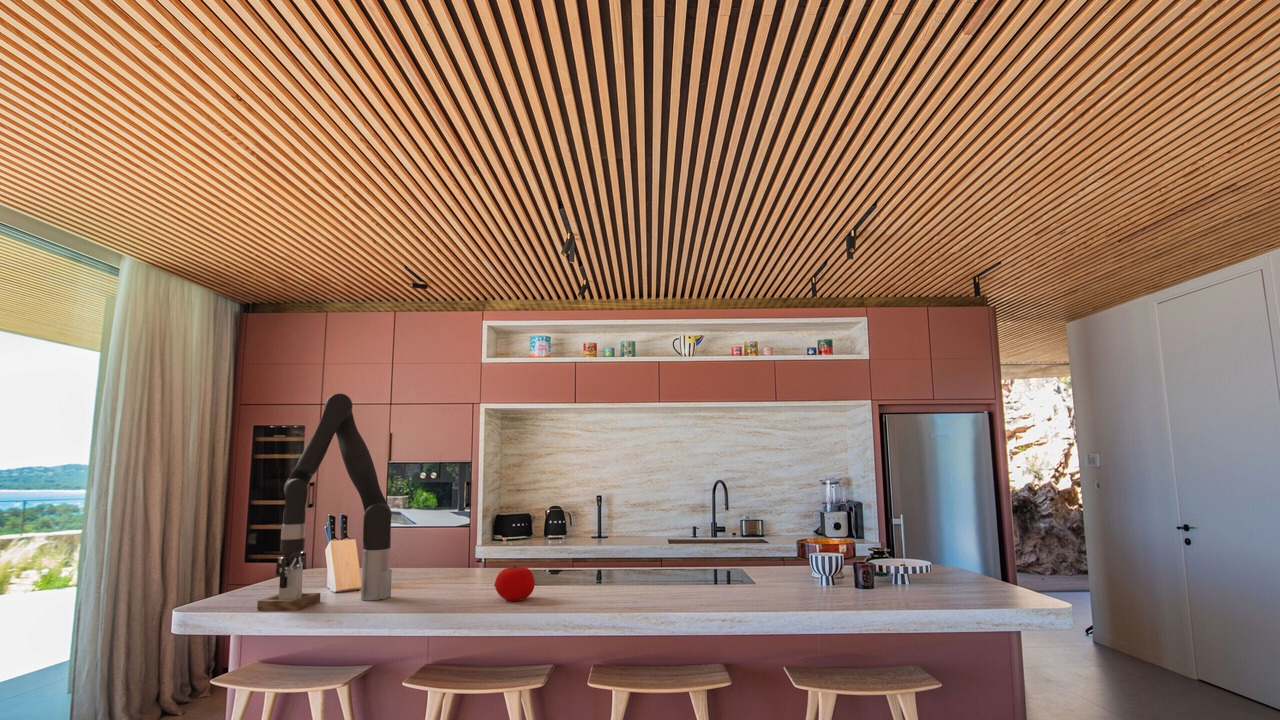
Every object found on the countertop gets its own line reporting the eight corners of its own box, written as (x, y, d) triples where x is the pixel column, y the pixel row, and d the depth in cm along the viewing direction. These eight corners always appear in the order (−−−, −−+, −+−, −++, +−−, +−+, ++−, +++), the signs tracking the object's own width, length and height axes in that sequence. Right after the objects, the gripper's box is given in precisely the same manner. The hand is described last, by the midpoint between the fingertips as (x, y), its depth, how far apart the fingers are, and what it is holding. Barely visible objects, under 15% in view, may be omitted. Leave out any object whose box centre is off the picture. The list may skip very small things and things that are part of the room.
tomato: (529, 603, 238) (529, 568, 240) (490, 603, 240) (490, 568, 241) (539, 596, 251) (539, 562, 252) (501, 595, 253) (502, 562, 254)
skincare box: (301, 604, 241) (303, 568, 242) (294, 607, 237) (296, 570, 238) (284, 604, 241) (286, 568, 243) (277, 607, 237) (279, 570, 239)
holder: (320, 601, 245) (320, 592, 246) (297, 610, 231) (298, 601, 232) (281, 601, 246) (282, 592, 247) (257, 610, 232) (257, 600, 233)
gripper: (291, 539, 235) (289, 589, 232) (314, 534, 249) (312, 582, 247) (270, 539, 235) (267, 589, 233) (294, 534, 249) (291, 582, 247)
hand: (290, 585), depth 240 cm, fingers open, 8 cm apart
